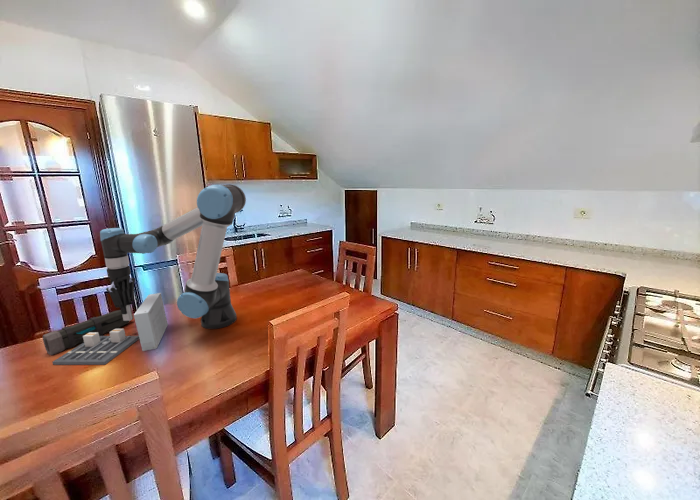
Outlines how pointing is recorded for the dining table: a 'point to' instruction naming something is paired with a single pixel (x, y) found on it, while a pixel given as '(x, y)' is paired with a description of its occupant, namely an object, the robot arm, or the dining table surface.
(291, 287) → the dining table surface
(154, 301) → the skincare box
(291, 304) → the dining table surface
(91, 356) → the console
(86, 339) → the fader
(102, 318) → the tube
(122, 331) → the fader
